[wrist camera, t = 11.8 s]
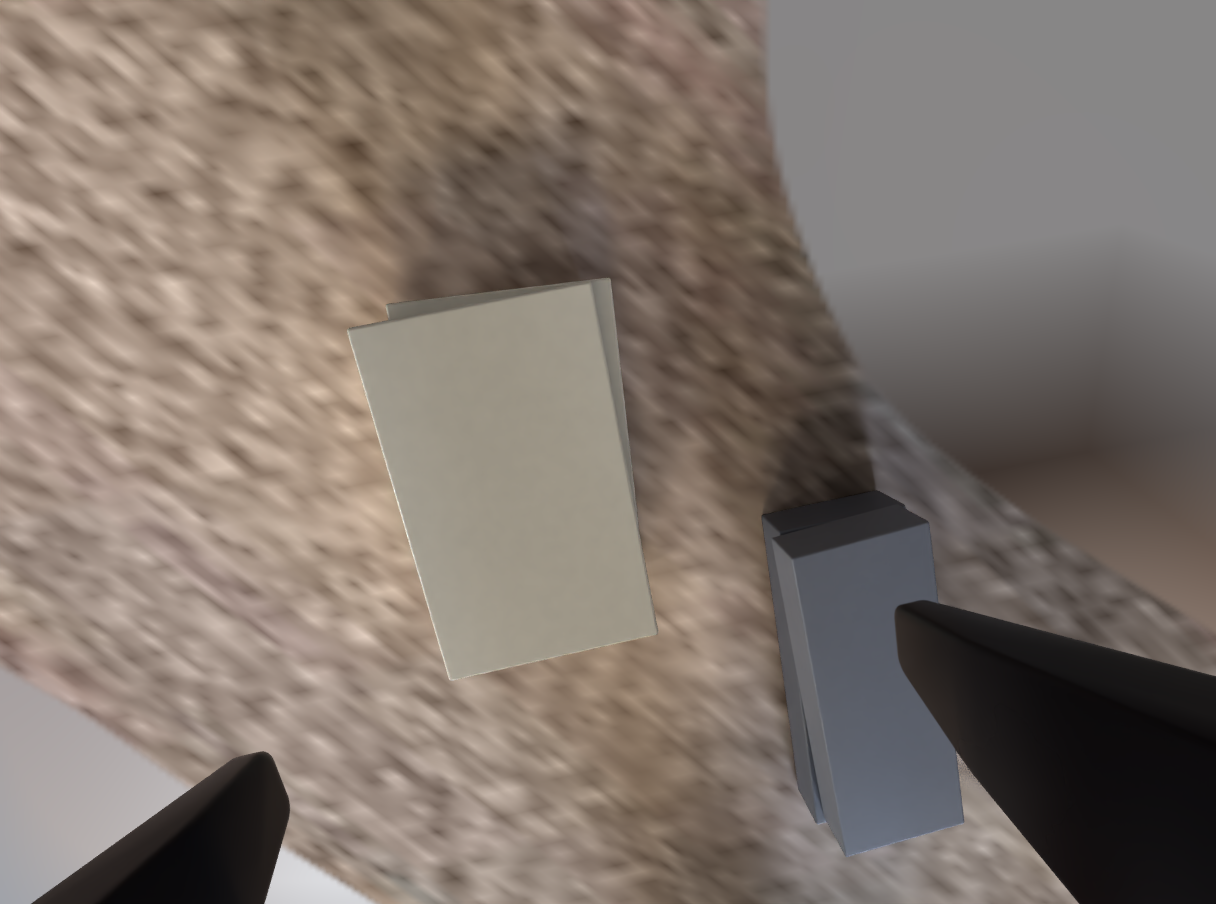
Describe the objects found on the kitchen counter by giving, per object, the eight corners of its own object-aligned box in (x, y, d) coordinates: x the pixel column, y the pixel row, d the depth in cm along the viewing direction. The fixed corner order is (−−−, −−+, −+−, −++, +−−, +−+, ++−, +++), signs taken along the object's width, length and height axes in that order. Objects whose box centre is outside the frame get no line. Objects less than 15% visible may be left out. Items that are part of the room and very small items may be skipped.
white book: (650, 608, 17) (659, 635, 15) (457, 652, 16) (449, 682, 15) (587, 283, 14) (591, 280, 13) (364, 327, 14) (345, 328, 13)
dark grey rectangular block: (907, 763, 22) (965, 836, 19) (790, 791, 22) (830, 869, 19) (885, 485, 19) (948, 517, 16) (752, 513, 19) (790, 551, 16)
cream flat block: (653, 565, 19) (670, 606, 17) (470, 605, 19) (457, 653, 16) (599, 269, 17) (607, 260, 14) (390, 310, 17) (358, 309, 14)
